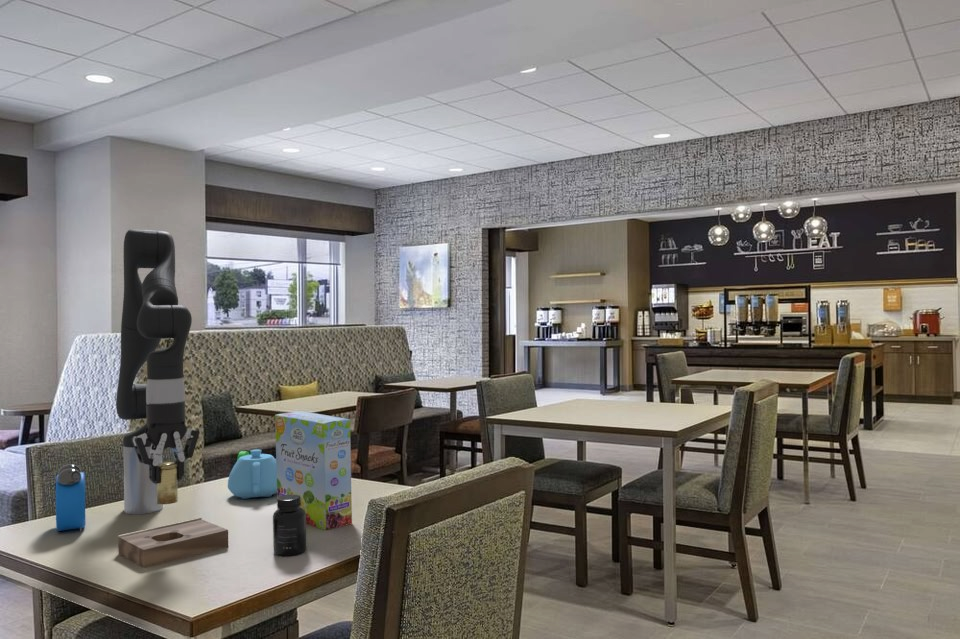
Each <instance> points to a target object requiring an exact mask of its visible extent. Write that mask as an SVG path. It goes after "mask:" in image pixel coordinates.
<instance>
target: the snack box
mask: <svg viewBox="0 0 960 639" xmlns="http://www.w3.org/2000/svg"><path fill="white" fill-rule="evenodd" d="M274 422H275V423H274V427H275V429H274V430H275V431H274V432H275V455H276V456H275V457H276V458H275V459H276V469H277V493H276V496H277V498H278V497H280V496H284V495H299V496H300V497H301V506H300V507H301V508H302V509H304V511H305V512H306V525H308V526H312V527H314V528H318V529H321V530H324V531H329V530H333V529H336V527H337V528H340V527H339V526H341V527H344V526H347V525H346V524H348V525H351V524H350V523H352V524H353V515H352V514H353V511H352V510H353V508H352V507H353V506H352V504H353V503H352V500H353V499H352V448H351V447H352V446H351V445H352V444H351V441H352V440H351V438H352V437H351V419H349V418H345V417H340V416H339V417H338V416H333V415H326V414H320V413H315V412H309V411H301V410H299V411H298V410H297V411H291V412H284V413H278V414H274ZM277 498H276V499H277ZM276 508H277V509H276V510H278V507H277V506H276ZM343 525H344V526H343ZM332 528H333V529H332Z"/></svg>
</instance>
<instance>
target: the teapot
mask: <svg viewBox="0 0 960 639" xmlns="http://www.w3.org/2000/svg"><path fill="white" fill-rule="evenodd" d="M249 453H250V455H245V456H242V457H240V458H239V459H238V460H237V459H236V462H235V463H234V465H233V467H232V469H231V471H230V473H229V476H228V479H227V489H228V490H229V492H230V493H231V494H232V495H234V497H239V498H240V499H241V500H248V499H250V498H261V497H263V498H271V497H272V495H275V494H277V469H276V458H275V457H274V456H273V455H272V454H267V453H262V449H251V450H250V452H249Z"/></svg>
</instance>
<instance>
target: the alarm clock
mask: <svg viewBox="0 0 960 639" xmlns="http://www.w3.org/2000/svg"><path fill="white" fill-rule="evenodd" d="M85 476H86V474H85V473H84V472H82V469H81V467H80V466H78V465H76V464H73V463H68V464H65V465H62V466H61V467H60V468H59V469H58V472H57V475H56V477H55V482H54V490H55V526H56V527H55V528H56V531H57V532H61V531H62V532H63V531H70V530H77V529H79V531H80V532H82V530H83V528H85V527H86V478H85Z"/></svg>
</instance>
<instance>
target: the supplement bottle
mask: <svg viewBox="0 0 960 639" xmlns="http://www.w3.org/2000/svg"><path fill="white" fill-rule="evenodd" d="M276 500H277V502H276V508H277V507H278V510H277V509H276V510H275V511H274V512H273V514H272V538H273V539H272V540H273V546H272V547H273V555H274V556H277V557H282V558H283V557H284V558H288V557H289V558H291V557H296V556H300V555H303V554H305V553H306V552H307V547H308V546H307V543H308V542H307V524H306V512H305V511H304V509H302V508H301V507H300V506H301V497H300V496H299V495H284V496H280V497H278V498H276Z"/></svg>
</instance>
